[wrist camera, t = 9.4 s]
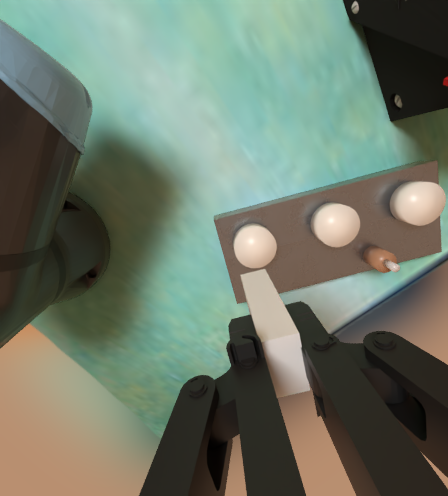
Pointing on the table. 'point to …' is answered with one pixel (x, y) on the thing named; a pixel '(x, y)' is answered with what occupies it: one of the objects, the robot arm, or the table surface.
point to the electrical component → (407, 51)
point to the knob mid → (335, 224)
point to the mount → (318, 253)
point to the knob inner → (254, 245)
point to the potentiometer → (380, 259)
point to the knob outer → (417, 202)
